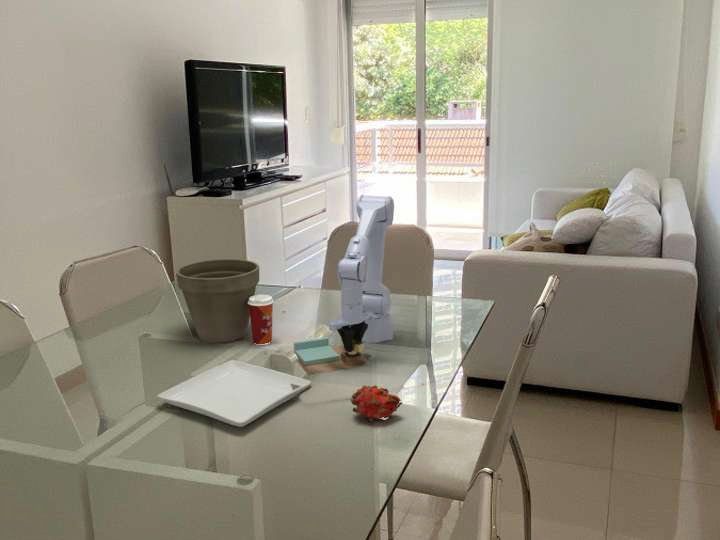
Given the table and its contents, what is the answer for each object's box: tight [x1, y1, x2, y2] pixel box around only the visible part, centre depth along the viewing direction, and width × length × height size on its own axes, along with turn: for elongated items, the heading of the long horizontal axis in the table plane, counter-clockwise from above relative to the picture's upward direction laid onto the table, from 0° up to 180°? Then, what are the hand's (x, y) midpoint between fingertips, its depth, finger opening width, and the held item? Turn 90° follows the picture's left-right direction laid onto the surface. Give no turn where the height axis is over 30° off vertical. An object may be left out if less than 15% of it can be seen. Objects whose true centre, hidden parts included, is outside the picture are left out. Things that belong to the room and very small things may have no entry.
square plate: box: [156, 359, 313, 428], centre depth 172 cm, size 27×27×4 cm
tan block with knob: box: [340, 338, 365, 357], centre depth 191 cm, size 7×2×5 cm, turn 44°
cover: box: [293, 336, 340, 365], centre depth 194 cm, size 10×10×3 cm
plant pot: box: [175, 258, 260, 344], centre depth 214 cm, size 25×25×22 cm
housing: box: [296, 345, 372, 376], centre depth 193 cm, size 18×16×4 cm
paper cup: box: [248, 294, 275, 344], centre depth 209 cm, size 8×8×14 cm
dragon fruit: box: [350, 385, 403, 422], centre depth 162 cm, size 8×8×12 cm
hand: (352, 349), depth 191 cm, fingers closed on tan block with knob, 2 cm apart
